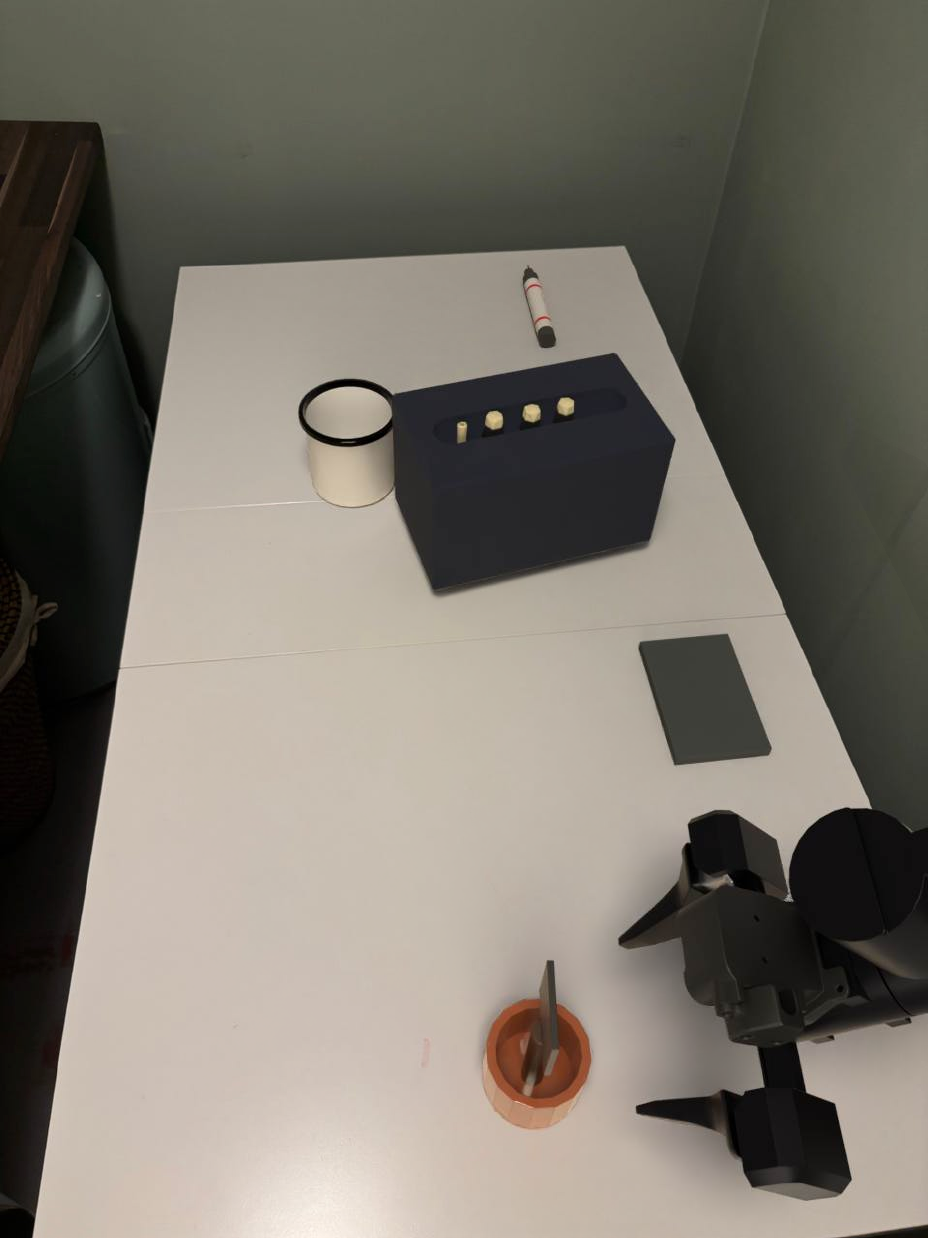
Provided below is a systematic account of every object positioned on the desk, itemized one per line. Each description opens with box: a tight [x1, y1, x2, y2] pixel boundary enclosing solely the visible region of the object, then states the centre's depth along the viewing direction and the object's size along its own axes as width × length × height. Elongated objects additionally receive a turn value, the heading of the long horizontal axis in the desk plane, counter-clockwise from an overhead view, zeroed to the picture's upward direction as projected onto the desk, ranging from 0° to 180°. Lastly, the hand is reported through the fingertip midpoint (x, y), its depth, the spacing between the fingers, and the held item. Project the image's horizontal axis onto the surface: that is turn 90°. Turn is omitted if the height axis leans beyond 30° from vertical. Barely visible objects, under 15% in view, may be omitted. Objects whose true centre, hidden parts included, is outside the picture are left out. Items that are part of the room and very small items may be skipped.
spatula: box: [521, 959, 559, 1086], centre depth 59 cm, size 2×5×14 cm, turn 0°
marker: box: [522, 264, 557, 349], centre depth 119 cm, size 15×2×2 cm, turn 7°
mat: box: [638, 633, 773, 766], centre depth 84 cm, size 12×8×1 cm, turn 8°
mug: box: [297, 378, 395, 508], centre depth 97 cm, size 12×10×9 cm
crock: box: [482, 998, 592, 1130], centre depth 63 cm, size 6×6×6 cm
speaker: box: [391, 352, 677, 591], centre depth 90 cm, size 22×13×15 cm, turn 108°
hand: (630, 1023), depth 56 cm, fingers open, 9 cm apart
